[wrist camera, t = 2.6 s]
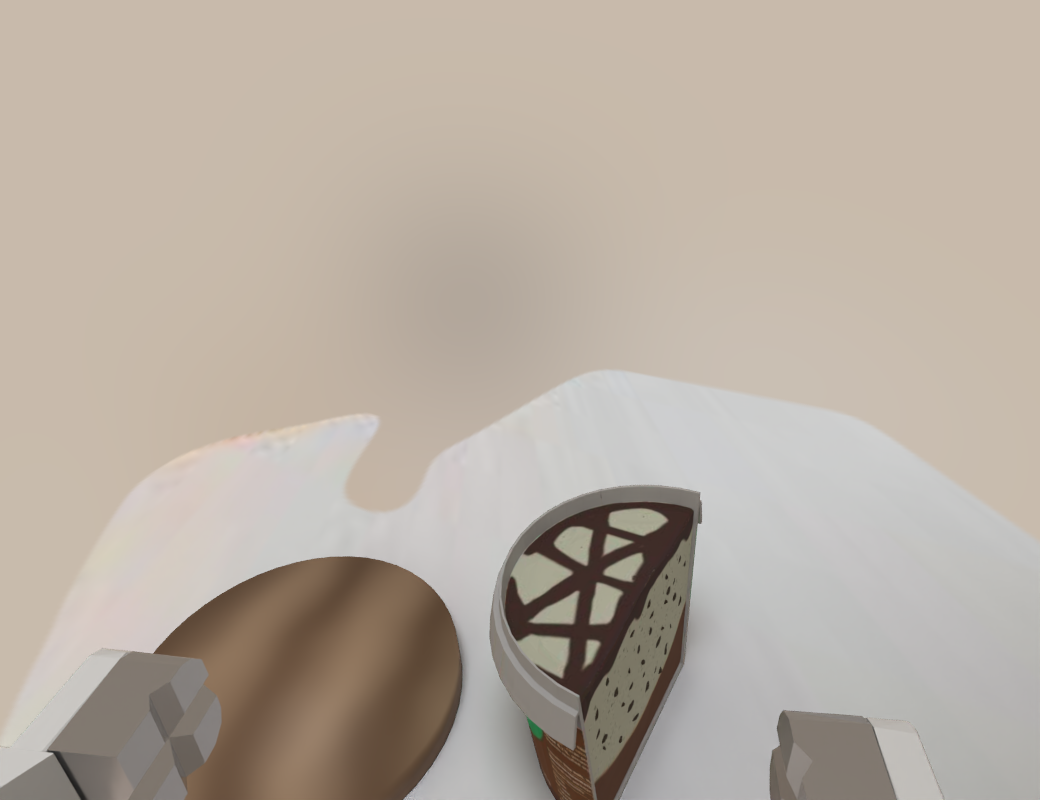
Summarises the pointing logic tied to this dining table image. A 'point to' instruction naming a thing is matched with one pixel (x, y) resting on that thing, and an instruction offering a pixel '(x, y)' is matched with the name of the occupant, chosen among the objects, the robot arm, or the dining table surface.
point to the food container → (596, 629)
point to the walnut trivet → (324, 682)
